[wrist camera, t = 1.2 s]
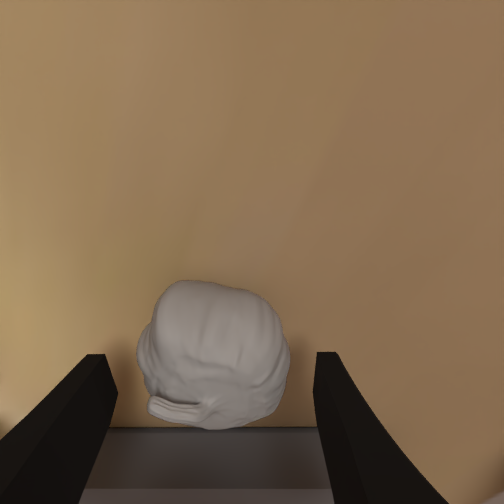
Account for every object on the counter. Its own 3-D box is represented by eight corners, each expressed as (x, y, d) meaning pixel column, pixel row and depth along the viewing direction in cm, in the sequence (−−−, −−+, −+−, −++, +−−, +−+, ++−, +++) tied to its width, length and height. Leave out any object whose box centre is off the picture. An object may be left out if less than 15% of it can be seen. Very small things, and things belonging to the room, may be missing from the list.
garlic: (124, 308, 15) (65, 425, 10) (209, 227, 13) (183, 329, 8) (228, 377, 17) (217, 498, 12) (315, 318, 15) (341, 437, 10)
